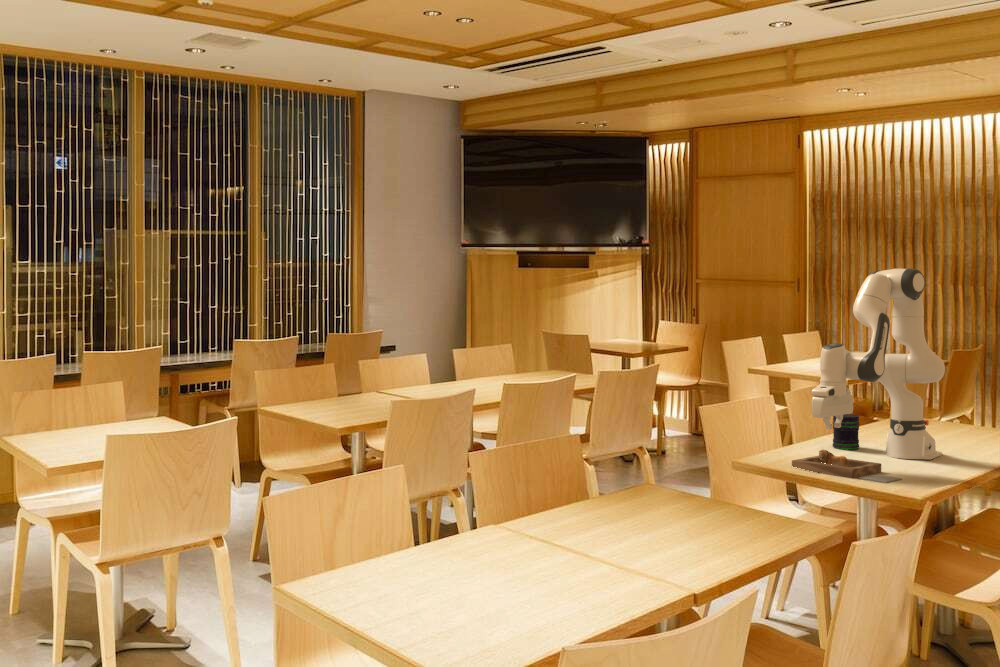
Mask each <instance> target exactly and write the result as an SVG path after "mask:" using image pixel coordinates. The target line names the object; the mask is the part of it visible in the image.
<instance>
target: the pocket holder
mask: <svg viewBox="0 0 1000 667" xmlns="http://www.w3.org/2000/svg"><path fill="white" fill-rule="evenodd" d="M847 459H848V462H849V465H850V467H849V466H848V463H847V462H846V465H847V467H844V466H842V464H841V463H840V464H832V465H830V464H824V462H823V461H822V460H820V458H819V455H816V456H815V455H814V456H808V457H802V458H798V459H792V460H791V467H792V466H793V467H797V468H801V469H805V470H804V471H806V470H809V471H808V472H810V471H813V472H812V473H815V472H819V473H818V474H822V473H823V474H822V475H827V476H828V475H829V476H835V477H840V478H841V477H843V478H848V479H855V478H858V477H863V476H868V475H872V474H879V473H882V463H879V462H874V461H873V462H872V461H865V460H860V459H859V460H858V459H852V458H851V459H850V458H847ZM821 462H822V463H821ZM797 468H796V469H797ZM801 469H800V470H801Z"/></svg>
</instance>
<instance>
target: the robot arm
mask: <svg viewBox="0 0 1000 667" xmlns="http://www.w3.org/2000/svg"><path fill="white" fill-rule="evenodd" d="M925 286H926V280H925V276H924V274H923V273H922V272H921V270H919V269H917V268H916V269H915V268H892V269H885V270H876V271H872V272H870V273H869V274H868V275H867V277H865V279H864V281H863V282H862V284H861V286H860V288H859V290H858V292H857V295H856V296H855V297H856V298H855V301H854V302H853V305H852V307H853V308H852V314H853V316H854V318H855V319H856V320H857V322H859V323H860V324H862V325H863V326H865V327H867V328H869V329H871V331H872V333H871V338H870V339H871V341H870V346H869V349H868V351H866V352H854V351H853V352H852V351H850V350H848V349H846V347H845V344H843V343H839V342H837V343H835V342H834V343H829V344H826V345H823V346H822V348H821V351H820V359H819V370H820V374H821V375H820V380H819V384H818V385H817V386H815V387H814V388H812V390H811V396H812V399H811V415H812V417H813V418H819V419H822V421H823V422H824V429H825V430H832V429H833V423H831V421H830V420H831V417H833V416H836V417H837V418H836V422H835V423H834V427H835V428H840V427H841V422H842V419H843V415H844V414H853V411H854V402H853V401H854V400H853V395H852V392H851V390H850V389H849V388H848V387H847V379H848V380H857V381H864V382H870V383H875V382H876V381H878V382H879V383H881V385H882V386H883V387H884V388H885V390H886V391H887V394H888V396H889V400H890V409H891V410H890V411H891V413H890V414H891V415H890V416H891V418H890V419H889V428H890V431H888V432H887V433H886V434H887V437H886V446H885V447H886V448H885V450H883V453H884V454H886V455H887V457H889V456H890V458H896V459H902V460H903V459H905V460H932V459H933V460H934V459H935V458H937V457H940V456H942V455H943V452H942V451H938V450H936V448H937V447H936V440H935V438H934V437H933V436H932V435H931V434H930V432H928V431H927V430H926V426H929V424H930V420H928V419H924V401H923V399H922V396H920V395H918V394H917V393H915V392H913V391H911V390H910V389H908V388H907V386H906V384H908V383H909V384H931V383H932V384H933V383H937V382H938V383H939V382H940V381H941V380H942V379H943V377H944V375H945V372H946V365H945V363H944V361H943V359H942V358H941V357H940V356H939V355H937V354H936V353H935V352H934V351H933V350H932V349H931V348H930V346H929V345H928V343H927V340H926V335H925V309H924V302H923V296H922V295H923V294H922V293H923V291H924V289H925ZM890 299H891V300H893V303H892V310H891V311H892V312H891V321H890V318H889V316H888V315H887V314H886V312H887V308H888V305H889V302H890ZM890 322H891V326H890ZM890 328H891V335H892V338H893V340H895V342H897V343H898V344H900V345H903V346H905V347H906V348H907V349H908V351H909V353H886V352H887V346H888V342H889V334H890Z"/></svg>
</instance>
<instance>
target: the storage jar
mask: <svg viewBox="0 0 1000 667" xmlns="http://www.w3.org/2000/svg"><path fill="white" fill-rule="evenodd" d="M836 418H837V417H836V416H832V429H833V438H832V447H834V449H837V450H841V451H857V450H859V448H860V444H859V443H860V440H859V430H860V422H859V421H860V419H859V418H860V415H858V414H853V413H851V414H844V415H843V419H842V422H841V427H840V428H835V427H834V423H835V422H836Z"/></svg>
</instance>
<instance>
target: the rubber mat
mask: <svg viewBox="0 0 1000 667" xmlns="http://www.w3.org/2000/svg"><path fill="white" fill-rule="evenodd" d="M857 479H858V480H863V481H871V482H877V483H882V484H887V483H888V484H889V483H891V482H897V481H900V480H901V481H902V480H903V478H902V477H896V476H890V475H883V474H879V473H875V474H870V475H865V476H861V477H857Z"/></svg>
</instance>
